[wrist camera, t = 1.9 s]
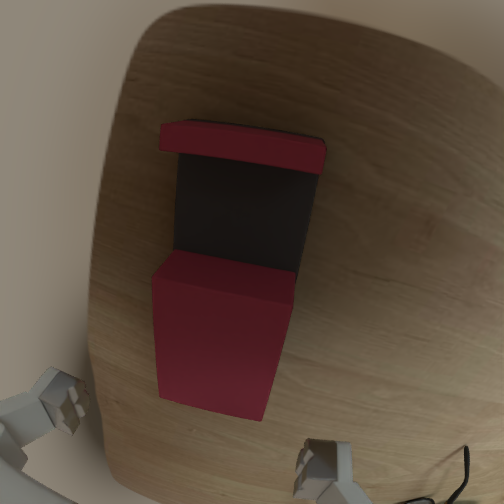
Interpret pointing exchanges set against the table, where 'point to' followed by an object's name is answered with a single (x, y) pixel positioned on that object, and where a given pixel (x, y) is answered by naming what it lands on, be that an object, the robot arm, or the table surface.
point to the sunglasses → (429, 503)
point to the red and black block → (231, 261)
